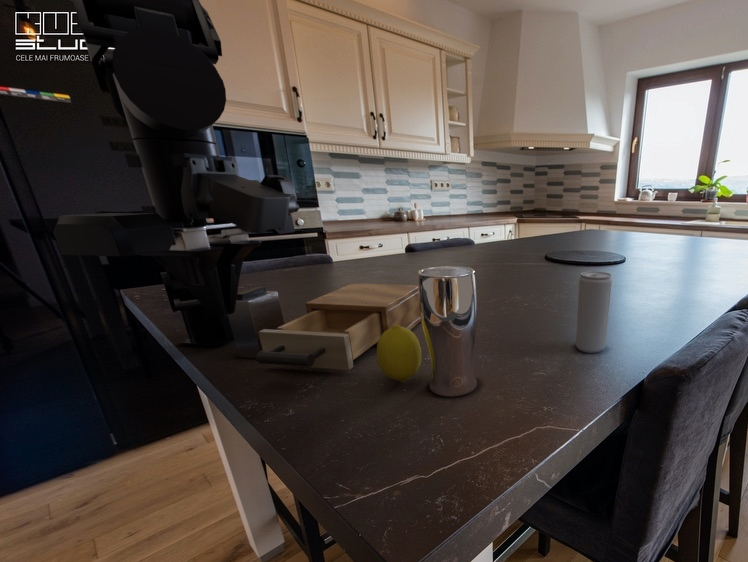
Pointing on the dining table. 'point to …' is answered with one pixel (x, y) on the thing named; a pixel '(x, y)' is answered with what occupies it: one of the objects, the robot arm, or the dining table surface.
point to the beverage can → (593, 311)
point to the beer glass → (449, 326)
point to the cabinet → (375, 302)
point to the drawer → (321, 339)
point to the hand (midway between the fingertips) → (224, 315)
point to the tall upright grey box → (254, 319)
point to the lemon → (399, 353)
